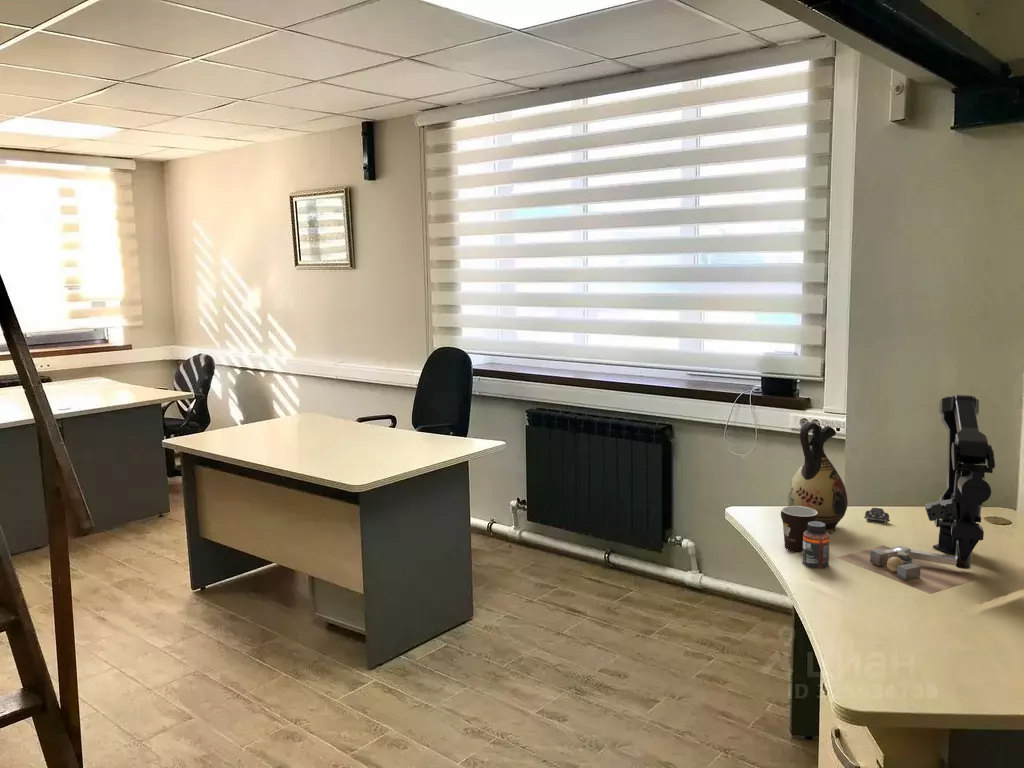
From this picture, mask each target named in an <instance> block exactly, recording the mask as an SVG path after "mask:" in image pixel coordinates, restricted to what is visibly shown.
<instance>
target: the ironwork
mask: <svg viewBox="0 0 1024 768" xmlns="http://www.w3.org/2000/svg"><path fill="white" fill-rule="evenodd" d="M901 560H902V561H903V563H904V565H899V566H898V567H897V578H899V579H901V580H904V581H909V580H914V579H918V578H920V568H921V567H920V566H918V565H916V564H913V563H912V559H911V558H909V559H901Z"/></svg>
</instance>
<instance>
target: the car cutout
mask: <svg viewBox="0 0 1024 768" xmlns="http://www.w3.org/2000/svg"><path fill="white" fill-rule="evenodd" d="M864 515H865V516H864V517H863V518H864V519H865V520H866V522H867V523H868V521H870V522H877V523H884V524H887V523H888V522H890V521H891V520H890V515H889V513H888V512H885V511H884V509H883V508H881V507H872V508H871V509H870V510H866V511H865V514H864ZM918 531H921V530H919V529H918Z"/></svg>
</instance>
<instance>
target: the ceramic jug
mask: <svg viewBox="0 0 1024 768" xmlns="http://www.w3.org/2000/svg"><path fill="white" fill-rule="evenodd" d="M799 431H800V432H799V441H800V445H801V447H802V451H803V452H802V453H803V456H804V461H803V463H802V464H801V465H800V467H799V468H798V470H797V471H796V472H795V474H794V476H793V477H792V480H791V481H790V484H789V488H788V491H787V492H788V493H787V505H788V506H802V507H808V508H811V509H814V510H816V511H817V512H818V513H817V519H816V521H817V522H822V523H824V524H825V525H826V526H825V528H826V529H825V531H826V532H827V533H828V534H829V533H833V532H836V531H837V528H836V526H837V525H838V524H839V523H840V521H841V520H842V519H843V518H844V516H845V515H846V512H847V510H848V494H847V491H846V486H845V484H844V482H843V479H842V478H841V476H840V474H839V472H838V471H837V469H836V468H835V466H834V465H833V463H832V462H831V460H829V458H828V456H827V455H826V453H825V450H824V445H825V443H826V442H828V440H830V439H832V438H833V437H836V434H837V432H836V430H835V429H834V428H833V427H831V426H830V425H826V426H824V427H823V428H822V426H821V425H819V424H817V423H815V422H812V421H809V422H808V421H807V422H805V423H803V424H802V425H801V427H800V430H799ZM811 431H812V432H811ZM810 432H811V433H812V435H811V437H810V438H809V433H810Z"/></svg>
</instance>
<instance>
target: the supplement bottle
mask: <svg viewBox="0 0 1024 768" xmlns="http://www.w3.org/2000/svg"><path fill="white" fill-rule="evenodd" d="M825 526H826V525H825V524H824V523H822V522H817V521H812V522H809V523H808V529H807V530H806V531H805V532H804V534H803V552H802V557H801V558H802V559H801V562H802V565H803V566H804V567H806V568H810V569H816V570H823V569H828V567H829V564H830V563H829V561H830V560H829V559H830V535H829V532H828V533H827V532H826V531H825V529H826V528H825Z"/></svg>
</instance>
